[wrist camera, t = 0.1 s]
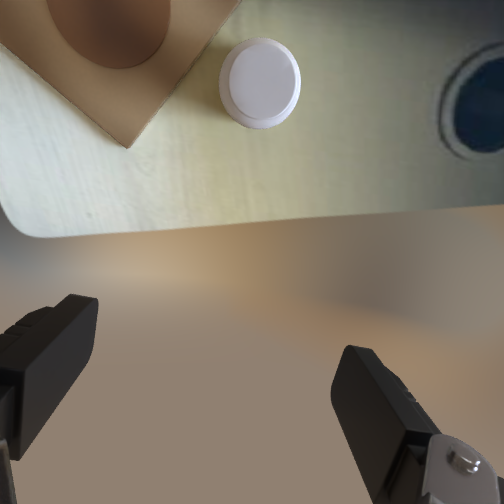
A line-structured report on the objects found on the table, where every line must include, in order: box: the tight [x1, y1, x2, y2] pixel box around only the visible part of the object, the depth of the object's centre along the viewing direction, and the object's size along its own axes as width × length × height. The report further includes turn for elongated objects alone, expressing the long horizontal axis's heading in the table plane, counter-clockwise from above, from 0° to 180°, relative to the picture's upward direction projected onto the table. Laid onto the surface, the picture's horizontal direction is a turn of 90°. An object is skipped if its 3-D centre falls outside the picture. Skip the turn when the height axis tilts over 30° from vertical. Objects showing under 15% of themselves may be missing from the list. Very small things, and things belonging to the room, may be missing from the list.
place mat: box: [0, 0, 242, 149], centre depth 24 cm, size 16×14×1 cm
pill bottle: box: [219, 37, 301, 129], centre depth 23 cm, size 5×5×10 cm
